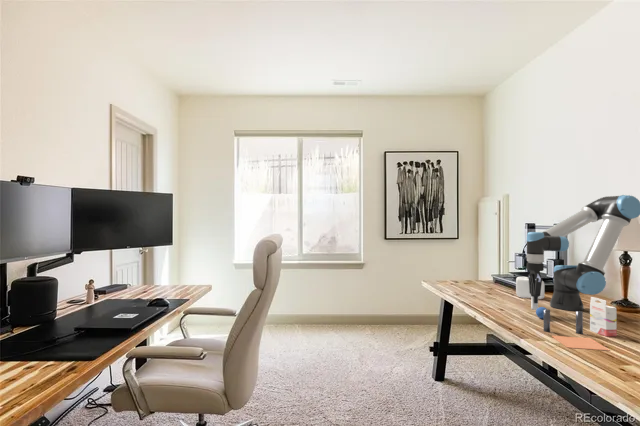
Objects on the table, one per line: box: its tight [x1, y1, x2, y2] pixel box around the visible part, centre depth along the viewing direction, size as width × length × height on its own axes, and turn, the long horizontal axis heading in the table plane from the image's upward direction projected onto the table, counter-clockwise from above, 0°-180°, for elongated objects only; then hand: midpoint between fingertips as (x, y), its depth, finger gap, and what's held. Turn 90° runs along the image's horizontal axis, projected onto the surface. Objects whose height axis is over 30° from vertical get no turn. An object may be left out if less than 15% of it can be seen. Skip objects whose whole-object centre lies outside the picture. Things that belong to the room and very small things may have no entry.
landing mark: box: [551, 335, 611, 352], centre depth 143 cm, size 14×14×1 cm
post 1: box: [543, 308, 551, 333], centre depth 158 cm, size 2×2×9 cm
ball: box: [535, 306, 547, 320], centre depth 178 cm, size 6×6×6 cm
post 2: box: [575, 310, 584, 335], centre depth 156 cm, size 2×2×9 cm
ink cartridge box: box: [589, 296, 618, 337], centre depth 156 cm, size 9×5×15 cm, turn 5°
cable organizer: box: [515, 276, 545, 300], centre depth 228 cm, size 15×11×12 cm
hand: (534, 309), depth 188 cm, fingers closed
